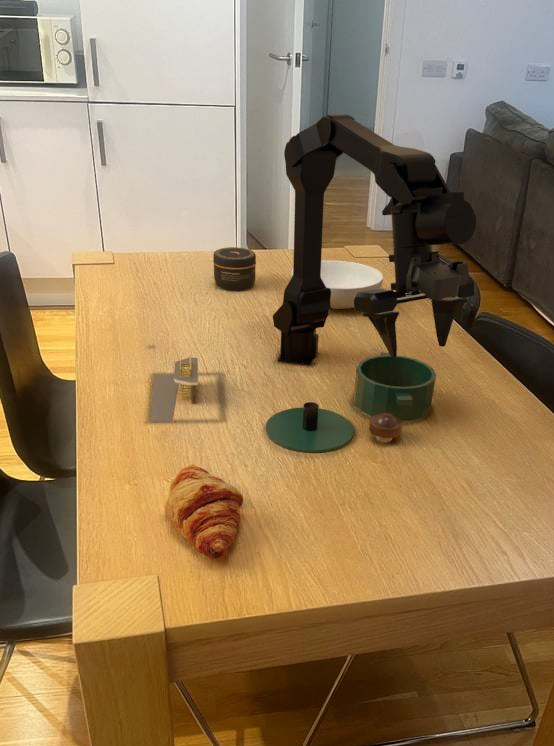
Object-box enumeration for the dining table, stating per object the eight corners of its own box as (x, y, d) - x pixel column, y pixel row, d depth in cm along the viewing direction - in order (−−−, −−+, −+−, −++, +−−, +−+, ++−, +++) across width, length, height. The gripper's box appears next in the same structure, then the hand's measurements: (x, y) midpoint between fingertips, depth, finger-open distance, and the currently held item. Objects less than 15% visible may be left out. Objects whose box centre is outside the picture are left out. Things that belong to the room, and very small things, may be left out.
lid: (266, 455, 116) (267, 426, 113) (264, 412, 128) (265, 385, 125) (358, 456, 117) (361, 427, 114) (348, 413, 129) (350, 386, 126)
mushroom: (365, 446, 120) (368, 419, 117) (369, 431, 124) (372, 404, 121) (398, 451, 119) (402, 423, 116) (401, 435, 123) (404, 408, 121)
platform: (149, 421, 123) (147, 385, 120) (154, 374, 138) (152, 340, 134) (223, 420, 125) (223, 384, 121) (220, 373, 140) (219, 340, 136)
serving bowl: (396, 300, 177) (399, 271, 173) (352, 326, 162) (354, 295, 158) (320, 281, 186) (322, 253, 182) (272, 304, 171) (272, 274, 167)
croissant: (171, 501, 111) (142, 462, 106) (230, 465, 111) (203, 425, 106) (200, 591, 94) (167, 551, 89) (270, 550, 94) (240, 507, 89)
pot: (360, 431, 124) (364, 395, 120) (347, 381, 140) (350, 348, 136) (440, 431, 125) (446, 396, 121) (419, 382, 141) (424, 349, 137)
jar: (219, 276, 185) (218, 244, 181) (259, 280, 184) (259, 248, 180) (209, 289, 177) (208, 256, 173) (251, 293, 176) (251, 260, 172)
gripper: (391, 253, 101) (398, 369, 106) (499, 237, 108) (500, 346, 114) (347, 253, 110) (356, 360, 116) (450, 239, 118) (453, 339, 123)
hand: (418, 351), depth 117 cm, fingers open, 9 cm apart
